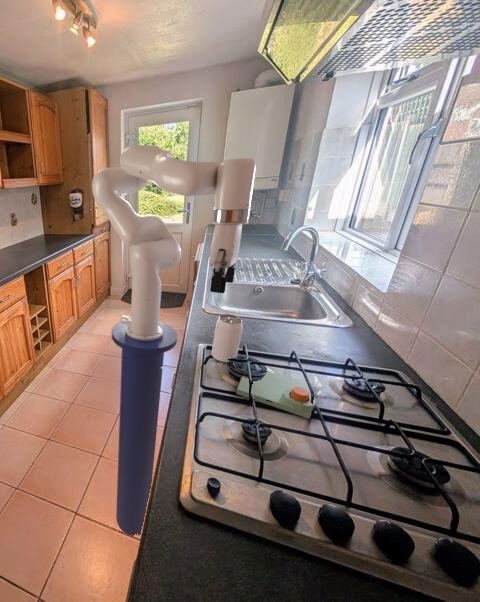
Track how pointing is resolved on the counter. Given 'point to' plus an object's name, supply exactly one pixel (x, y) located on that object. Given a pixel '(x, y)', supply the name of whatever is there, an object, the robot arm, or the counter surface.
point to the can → (227, 337)
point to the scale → (278, 393)
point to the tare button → (300, 394)
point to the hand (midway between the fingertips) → (222, 286)
